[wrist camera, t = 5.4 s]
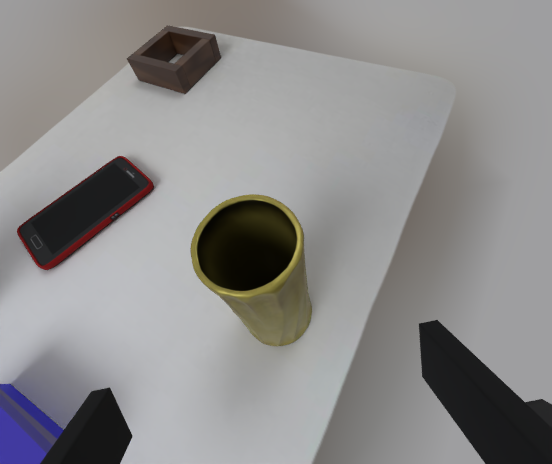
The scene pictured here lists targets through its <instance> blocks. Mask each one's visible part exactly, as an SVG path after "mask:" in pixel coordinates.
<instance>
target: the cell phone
mask: <svg viewBox="0 0 552 464" xmlns="http://www.w3.org/2000/svg"><path fill="white" fill-rule="evenodd" d="M103 167H104V168H103ZM103 167H102V168H100V169H99V170H97V171H96V172H97V173H96V172H94V173H93V174H92V175H90V176H89V177H90V178H89V177H87V178H86V179H85V180H83V181H82V182H80V183H79V184H78V185H76V186H75V187H73V188H72V189H71V190H69V191H68V192H66V193H65V194H64V195H62V196H61V197H59V198H58V199H56V200H55V201H54V202H52V203H51V204H49V205H48V206H47V207H45V208H44V209H42V210H41V211H40V212H38V213H37V214H35V215H34V216H33V217H31V218H30V219H28V220H27V221H26V222H24V223H23V224H22V225H21V226H19V228H18V229H17V233H18V236H19V238H20V239H21V241H22V242H23V244H24V246H25V247H26V249H27V250H28V252H29V254H30V255H31V257H32V258H33V260H34V262H35V263H36V265H37V266H38V267H40V268H41V269H44V270H49V269H51V268H53V267H54V266H56V265H57V264H59V263H60V262H61V261H62V260H64V259H65V258H66V257H67V256H69V255H70V254H71V253H73V252H74V251H75V250H76V249H78V248H79V247H80V246H81V245H83V244H84V243H85V242H86V241H88V240H89V239H90V238H91V237H93V236H94V235H95V234H97V233H98V232H99V231H100V230H102V229H103V228H104V227H105V226H107V225H108V224H109V223H110V222H112V221H113V220H114V219H115V218H117V217H118V216H119V215H121V214H122V213H124V212H125V211H126V210H127V209H129V208H130V207H131V206H132V205H134V204H135V203H136V202H137V201H139V200H140V199H141V198H143V197H144V196H145V195H146V194H148V193H149V192H150V191H151V190H152V189H153V187H154V185H153V183H152V181H151V180H150V179H149V178H148V177H147V176H146V175H145V174H143V173H142V172H141V171H140V170H139V169H138V168H137V167H136V166H134V165H133V164H132V163H131V162H130V161H129V160H128V159H127V158H125V157H123V156H118V157H116V158H115V159H113V160H112V161H110V162H109V163H107V164H106V165H104V166H103Z"/></svg>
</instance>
